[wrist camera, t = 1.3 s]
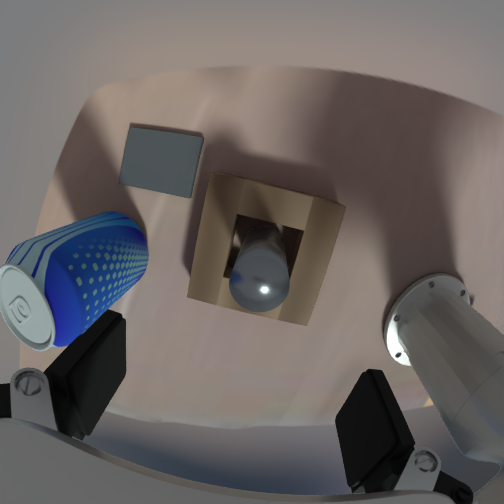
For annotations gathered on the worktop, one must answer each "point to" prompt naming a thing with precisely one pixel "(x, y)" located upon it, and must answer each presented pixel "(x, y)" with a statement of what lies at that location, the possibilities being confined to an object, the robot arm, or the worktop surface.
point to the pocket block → (272, 210)
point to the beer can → (70, 278)
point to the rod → (260, 271)
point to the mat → (161, 161)
